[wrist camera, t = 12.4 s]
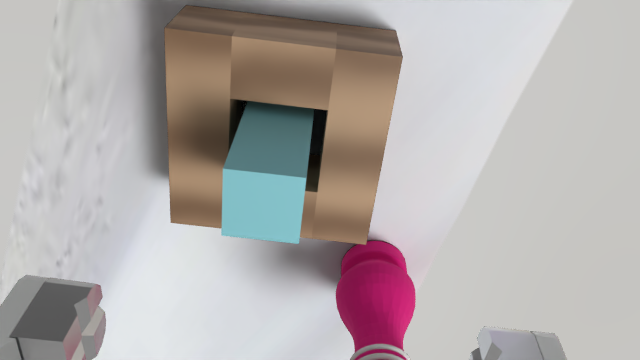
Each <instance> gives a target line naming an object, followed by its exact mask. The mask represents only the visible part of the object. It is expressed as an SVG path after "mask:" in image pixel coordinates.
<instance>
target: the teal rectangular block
mask: <svg viewBox="0 0 640 360" xmlns="http://www.w3.org/2000/svg"><path fill="white" fill-rule="evenodd" d="M313 116H314V108H305V107H297V106H288V105H280V104H272V103H263V102H255V101H248V102H247V105H246V107H245V110H244V113H243V116H242V118H241V121H240V124H239V126H238V129H237V132H236V134H235V137H234V140H233V143H232V145H231V148H230V151H229V153H228V156H227V159H226V162H225V164H224V167H223V187H222V235H223V236H232V237H241V238H250V239H259V240H268V241H277V242H286V243H295V244H299V239H300V230H301V221H302V213H303V204H304V195H305V186H306V178H307V169H308V160H309V151H310V143H311V134H312V125H313Z"/></svg>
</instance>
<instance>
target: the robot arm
mask: <svg viewBox="0 0 640 360" xmlns="http://www.w3.org/2000/svg"><path fill="white" fill-rule="evenodd" d="M101 299H102V291H101V286H100V285H98V284H93V283H86V282H79V281H71V280H64V279H57V278H46V277H39V276H31V275H25V276H24V277H22V278H21V279H19V280H18V282H17V283H16V285H15V286H14V288H13V289H12V290H11V292H10V293H9V295H8V296H7V297H6V299H5V300H4V302H3V303H2V304H1V306H0V360H92V359H93V358H95V357H96V356H97V354H98V352H99V350H100V348H101V345H102V342H103V338H104V334H105V326H106V318H105V312H104V311H103V310H102V309H101V308H100V307H99V306H98V305H99V303H100V301H101ZM477 340H478V344H479V348H477V349H476V350H474V351H473V352H471V355H470V358H469V360H567V358H566V356H565V353H564V351H563V348H562V346H561V343H560V341H559V339H558V337H557V336H556V335H555V334H554V333H545V332H536V331H527V330H516V329H506V328H496V327H486V326H484V327H483V328H482V329H481V330H480V332H479V335H478V337H477Z"/></svg>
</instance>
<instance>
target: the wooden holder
mask: <svg viewBox="0 0 640 360" xmlns="http://www.w3.org/2000/svg"><path fill="white" fill-rule="evenodd" d="M164 34H165V64H166V95H167V125H168V155H169V185H170V215H171V223H178V224H187V225H196V226H205V227H214V228H222V187H223V167H224V164H225V162H226V159H227V156H228V153H229V151H230V148H231V145H232V143H233V140H234V137H235V134H236V132H237V129H238V126H239V124H240V121H241V108H242V100H246V101H255V102H263V103H272V104H280V105H288V106H297V107H305V108H314V109H322V110H326V116H325V123H324V131H323V139H322V147H321V155H314V154H309V160H308V169H307V178H306V186H305V195H304V204H303V213H302V221H301V230H300V237H302V238H311V239H320V240H329V241H338V242H346V243H355V244H364V245H366V243H367V237H368V232H369V227H370V222H371V217H372V212H373V207H374V202H375V196H376V191H377V186H378V181H379V176H380V171H381V166H382V161H383V156H384V150H385V145H386V140H387V135H388V130H389V125H390V120H391V115H392V109H393V104H394V99H395V94H396V89H397V84H398V79H399V74H400V69H401V63H402V58H403V56H402V52H401V48H400V45H399V41H398V37H397V33H396V31H393V30H385V29H377V28H368V27H360V26H352V25H344V24H336V23H328V22H320V21H311V20H303V19H295V18H287V17H279V16H271V15H263V14H254V13H246V12H238V11H230V10H222V9H214V8H206V7H197V6H189V5H186V6H185V7H184V8H183V9H182V10H181V11H180V12H179V13H178V14H177V15H176V16H175V17H174V18H173V19H172V20H171V21H170V23H169V24H168V25H167V26H166V27H165V28H164Z"/></svg>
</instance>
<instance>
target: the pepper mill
mask: <svg viewBox="0 0 640 360" xmlns="http://www.w3.org/2000/svg"><path fill="white" fill-rule="evenodd" d="M336 302H337V308H338V311H339V314H340V317H341V319H342V321H343V323H344V324H345V326H346V327H347V329H348V331H349V332H350V334H351V335H352V337H353V340H354V345H355V353H354V354H353V355H352V357H351V358H350V360H411V359H410V357H409V356H408V355H407V354H406V353H405V352H404V350H403V338H404V334H405V332H406V329H407V327H408V325H409V323H410V321H411V319H412V316H413V312H414V308H415V288H414V285H413V282H412V280H411V278H410V277H409V276H408V274H407V269H406V262H405V258H404V257H403V255H402V253H401V252H400V251H399V250H398V249H397V248H396V247H394V246H393V245H391V244H389V243H385V242H382V241H367V243H366V245H364V244H357V245H355V246H354V247H352V248H351V249H350V250H349V251H348V252H347V253H346V254H345V256H344V258H343V260H342V265H341V279H340V280H339V282H338V285H337V289H336Z"/></svg>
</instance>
